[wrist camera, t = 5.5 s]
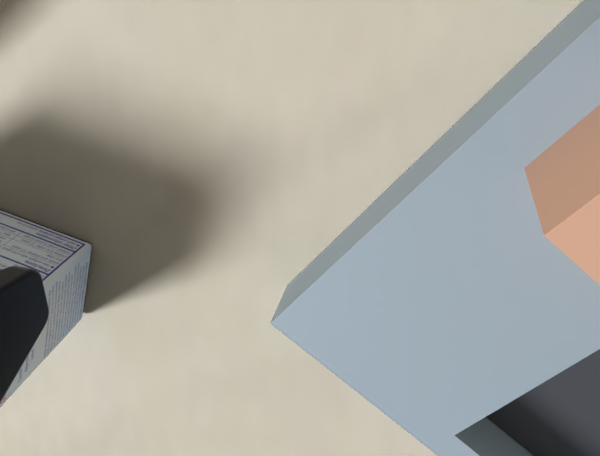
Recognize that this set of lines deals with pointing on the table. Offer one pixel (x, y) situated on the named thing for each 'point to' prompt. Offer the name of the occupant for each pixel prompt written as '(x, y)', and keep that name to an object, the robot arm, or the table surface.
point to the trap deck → (470, 279)
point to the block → (571, 193)
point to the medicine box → (47, 280)
